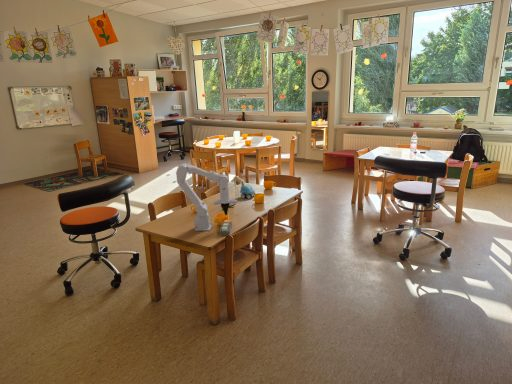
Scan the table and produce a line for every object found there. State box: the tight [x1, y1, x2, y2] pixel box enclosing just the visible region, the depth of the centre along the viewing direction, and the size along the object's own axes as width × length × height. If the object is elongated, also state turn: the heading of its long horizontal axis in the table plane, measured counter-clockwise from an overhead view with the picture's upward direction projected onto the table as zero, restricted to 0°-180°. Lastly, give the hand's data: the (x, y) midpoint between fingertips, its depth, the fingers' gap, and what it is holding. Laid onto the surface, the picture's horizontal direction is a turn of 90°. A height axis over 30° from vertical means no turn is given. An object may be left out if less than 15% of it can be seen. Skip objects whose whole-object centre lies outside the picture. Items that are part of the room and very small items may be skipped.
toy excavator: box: [233, 175, 256, 200], centre depth 278 cm, size 9×17×17 cm, turn 64°
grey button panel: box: [219, 221, 233, 236], centre depth 217 cm, size 6×15×2 cm, turn 178°
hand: (226, 214), depth 221 cm, fingers closed
